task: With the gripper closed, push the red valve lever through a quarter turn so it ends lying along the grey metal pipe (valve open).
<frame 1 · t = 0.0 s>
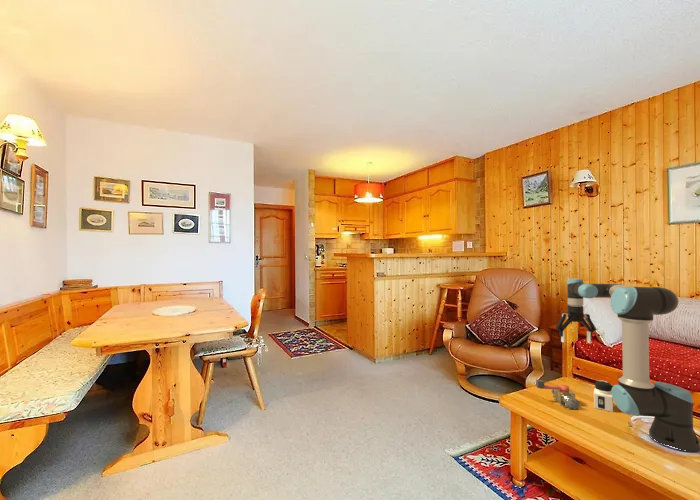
hand: (575, 342, 189), 28 cm above the table, fingers open, 13 cm apart
lever: (552, 385, 176), point 9 cm above the table, hinge at 90.0°
valve pipe: (564, 402, 175), on the table
container: (603, 407, 169), on the table
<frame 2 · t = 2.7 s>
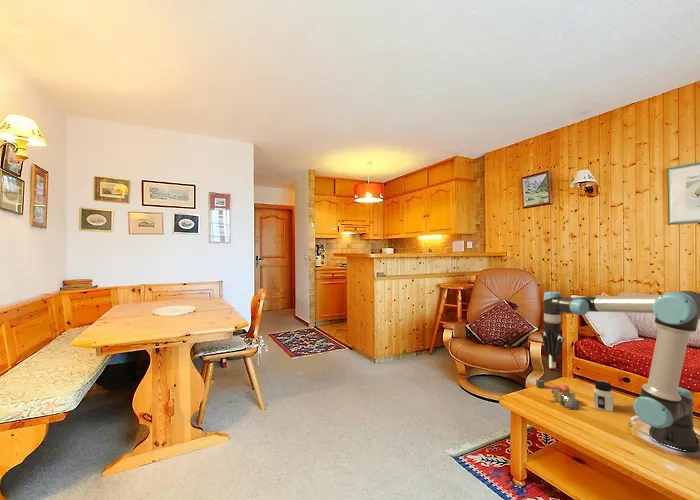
hand: (552, 367, 170), 20 cm above the table, fingers closed
nothing on the table moved.
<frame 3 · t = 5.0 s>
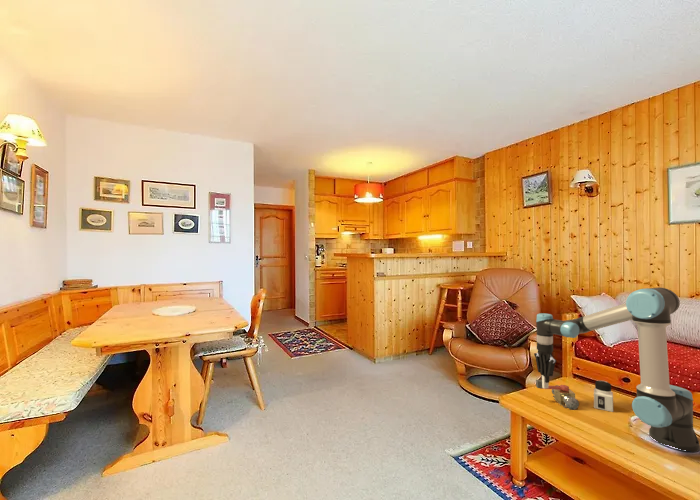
hand: (545, 387, 175), 8 cm above the table, fingers closed
lever: (552, 385, 176), point 9 cm above the table, hinge at 90.0°, touching gripper
everything else where it was.
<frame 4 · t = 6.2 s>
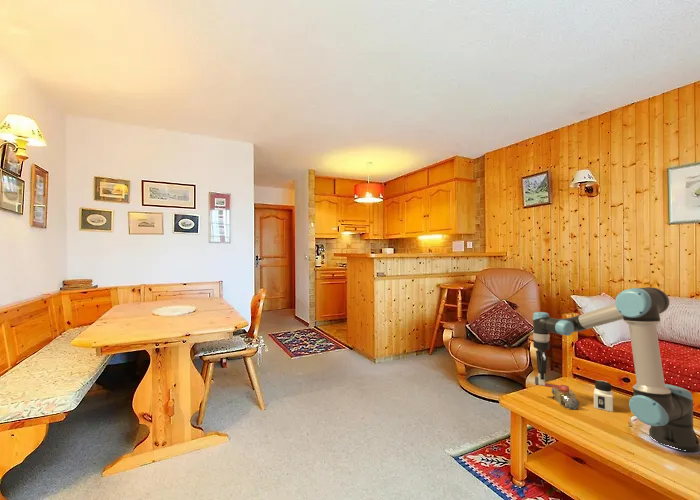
hand: (541, 384, 179), 8 cm above the table, fingers closed
lever: (551, 383, 178), point 9 cm above the table, hinge at 66.8°, touching gripper
everything else where it was.
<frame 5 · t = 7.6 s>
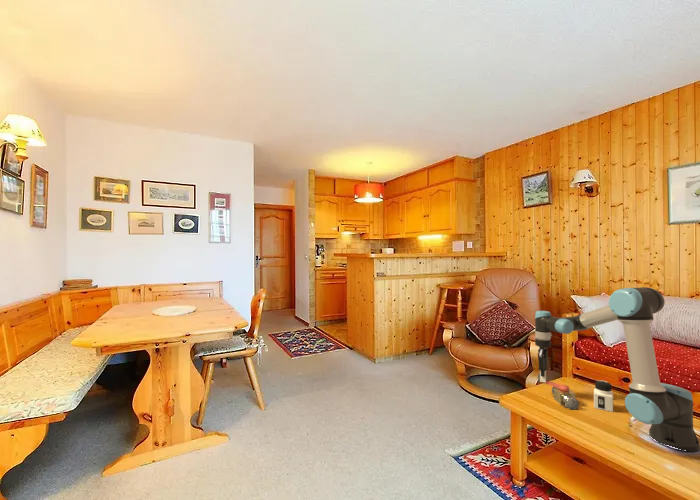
hand: (542, 381, 183), 8 cm above the table, fingers closed
lever: (553, 382, 180), point 9 cm above the table, hinge at 37.2°, touching gripper
everything else where it was.
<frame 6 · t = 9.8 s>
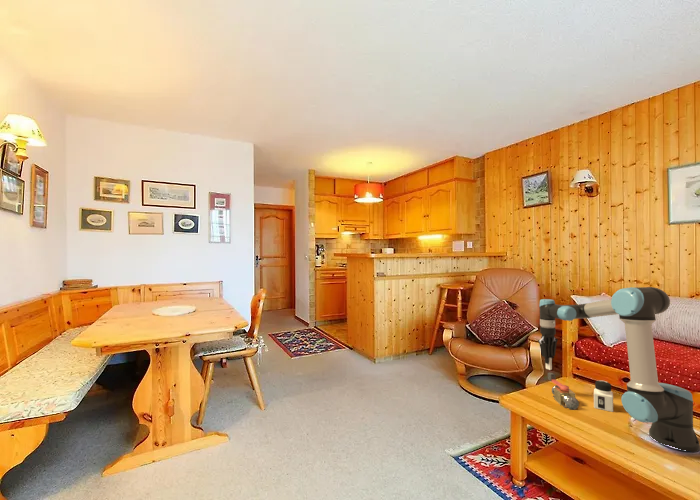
hand: (548, 369, 185), 14 cm above the table, fingers closed
lever: (558, 381, 181), point 9 cm above the table, hinge at 6.2°
everything else where it was.
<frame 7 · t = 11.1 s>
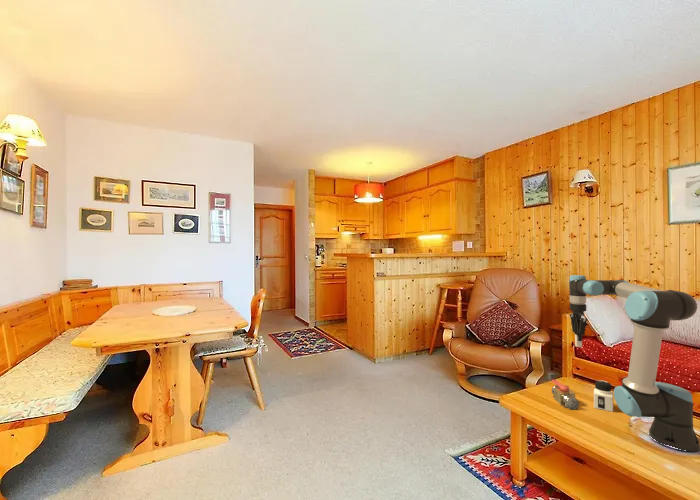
hand: (578, 346, 181), 28 cm above the table, fingers closed
nothing on the table moved.
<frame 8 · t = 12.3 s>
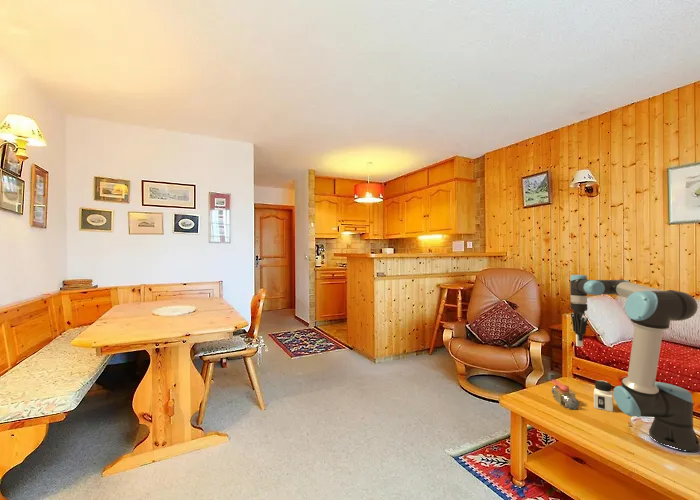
hand: (579, 346, 181), 28 cm above the table, fingers closed
nothing on the table moved.
at the end: lever at +6° (first picture: +90°) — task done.
